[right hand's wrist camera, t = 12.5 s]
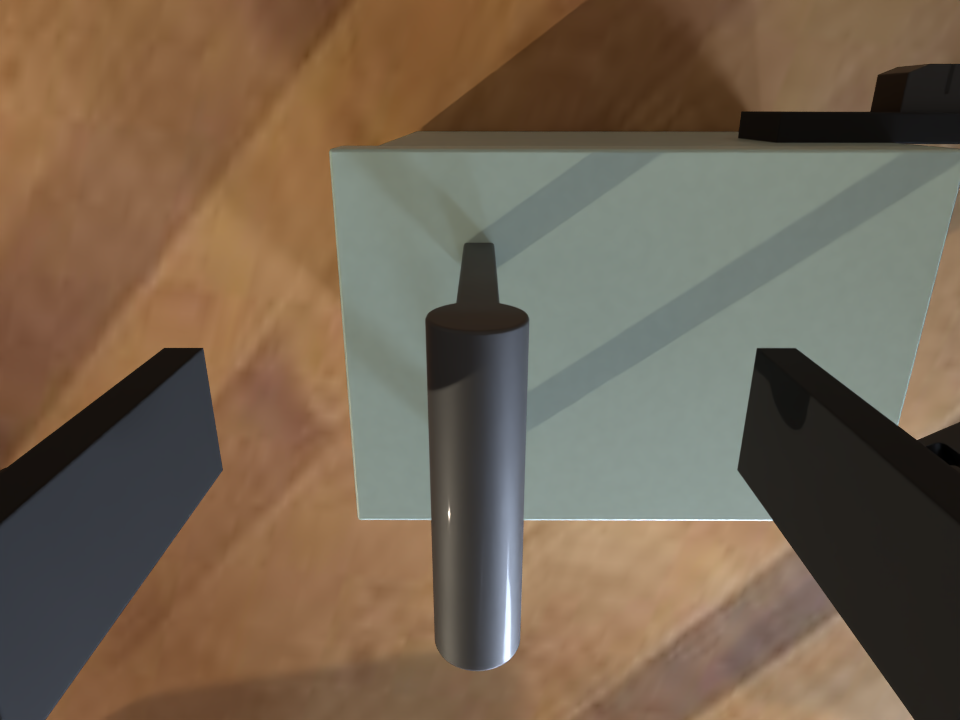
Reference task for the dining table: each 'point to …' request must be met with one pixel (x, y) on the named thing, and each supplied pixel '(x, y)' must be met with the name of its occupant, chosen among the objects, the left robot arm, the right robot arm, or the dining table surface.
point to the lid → (605, 331)
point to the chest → (592, 139)
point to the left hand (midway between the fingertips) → (731, 307)
